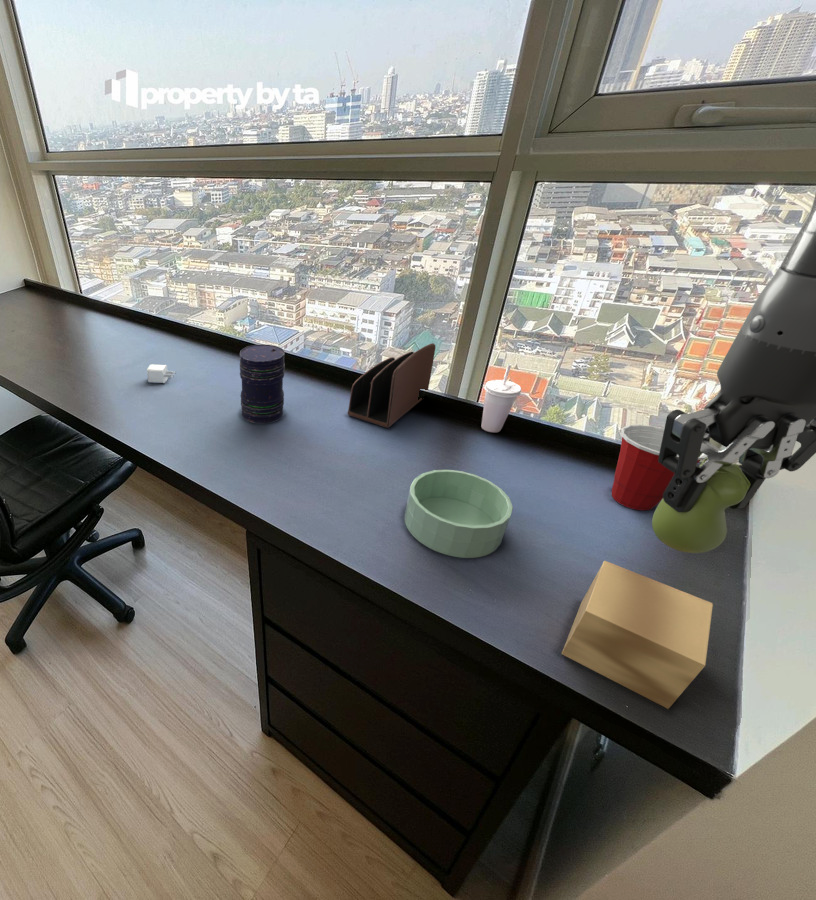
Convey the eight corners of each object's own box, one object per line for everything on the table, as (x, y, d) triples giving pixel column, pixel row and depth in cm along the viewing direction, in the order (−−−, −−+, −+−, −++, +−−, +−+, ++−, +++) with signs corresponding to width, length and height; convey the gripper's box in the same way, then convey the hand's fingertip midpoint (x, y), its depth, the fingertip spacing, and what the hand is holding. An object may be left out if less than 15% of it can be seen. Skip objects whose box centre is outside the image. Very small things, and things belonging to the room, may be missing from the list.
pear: (639, 520, 52) (681, 443, 47) (703, 534, 50) (755, 454, 45) (648, 554, 48) (696, 473, 43) (718, 571, 46) (778, 488, 40)
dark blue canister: (253, 427, 106) (252, 365, 98) (233, 409, 114) (231, 349, 106) (291, 416, 109) (293, 355, 101) (270, 399, 117) (270, 341, 109)
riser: (679, 647, 58) (713, 603, 53) (668, 709, 52) (705, 665, 47) (581, 603, 64) (604, 560, 59) (561, 654, 58) (585, 610, 53)
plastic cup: (682, 499, 79) (719, 437, 73) (665, 530, 74) (704, 466, 67) (604, 472, 86) (632, 413, 80) (583, 499, 81) (612, 438, 74)
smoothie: (507, 423, 102) (527, 361, 94) (508, 438, 97) (529, 374, 90) (474, 418, 104) (491, 357, 97) (473, 432, 100) (491, 370, 92)
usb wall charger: (153, 377, 132) (151, 363, 130) (177, 378, 131) (175, 364, 129) (148, 383, 129) (146, 369, 127) (173, 384, 128) (171, 370, 125)
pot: (523, 542, 73) (535, 512, 70) (446, 569, 70) (455, 538, 66) (455, 489, 84) (463, 462, 81) (386, 510, 81) (391, 481, 78)
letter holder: (427, 396, 114) (439, 339, 107) (388, 429, 103) (398, 368, 95) (388, 385, 120) (396, 330, 113) (346, 415, 109) (353, 357, 101)
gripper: (767, 357, 34) (659, 537, 43) (968, 344, 34) (817, 526, 43) (677, 323, 40) (599, 486, 49) (846, 312, 40) (737, 477, 49)
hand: (701, 504), depth 46 cm, fingers closed on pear, 4 cm apart
